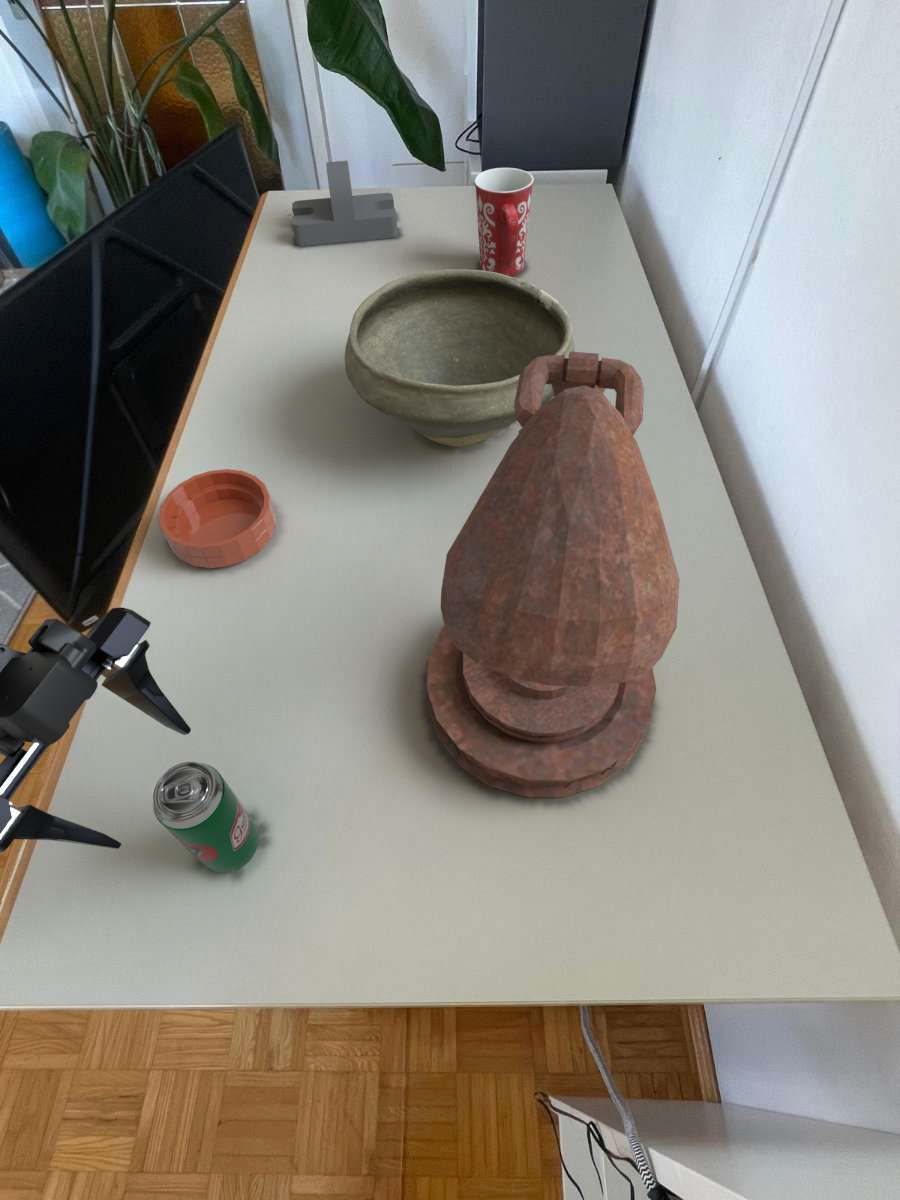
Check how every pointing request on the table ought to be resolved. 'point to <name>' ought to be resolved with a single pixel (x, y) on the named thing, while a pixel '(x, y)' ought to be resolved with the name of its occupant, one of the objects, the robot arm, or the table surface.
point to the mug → (503, 218)
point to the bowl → (452, 350)
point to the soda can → (205, 816)
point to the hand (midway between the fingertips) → (155, 786)
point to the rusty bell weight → (557, 592)
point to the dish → (218, 518)
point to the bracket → (343, 213)
